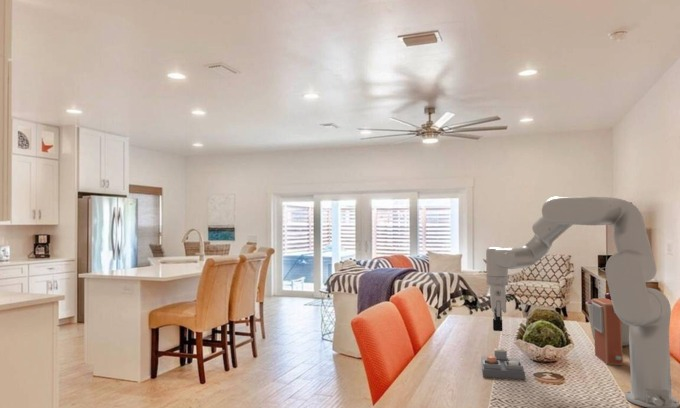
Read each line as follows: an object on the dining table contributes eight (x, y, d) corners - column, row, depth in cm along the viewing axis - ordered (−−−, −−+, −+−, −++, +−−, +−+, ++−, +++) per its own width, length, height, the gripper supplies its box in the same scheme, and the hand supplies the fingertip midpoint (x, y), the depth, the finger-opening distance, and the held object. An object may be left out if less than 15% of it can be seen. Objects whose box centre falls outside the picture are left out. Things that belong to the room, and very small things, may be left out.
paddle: (507, 359, 165) (506, 350, 165) (494, 359, 166) (494, 350, 166) (506, 358, 167) (506, 349, 167) (494, 357, 168) (494, 348, 168)
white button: (519, 368, 154) (519, 363, 154) (508, 367, 155) (508, 362, 155) (518, 365, 157) (518, 360, 157) (508, 364, 158) (508, 360, 158)
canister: (628, 339, 201) (626, 290, 202) (644, 350, 184) (642, 296, 185) (582, 337, 206) (580, 289, 207) (593, 348, 188) (591, 295, 189)
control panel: (611, 354, 178) (626, 366, 164) (591, 354, 180) (605, 365, 165) (608, 298, 180) (624, 304, 165) (589, 297, 181) (602, 304, 166)
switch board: (524, 379, 151) (524, 367, 152) (483, 376, 155) (482, 365, 155) (519, 366, 166) (519, 355, 166) (481, 363, 169) (481, 353, 169)
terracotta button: (496, 363, 156) (496, 358, 156) (486, 362, 157) (486, 358, 157) (496, 360, 159) (496, 356, 159) (486, 360, 160) (486, 355, 160)
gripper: (509, 283, 165) (510, 336, 164) (506, 278, 179) (506, 326, 179) (487, 282, 167) (488, 334, 166) (485, 277, 181) (486, 325, 181)
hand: (497, 330), depth 172 cm, fingers closed
